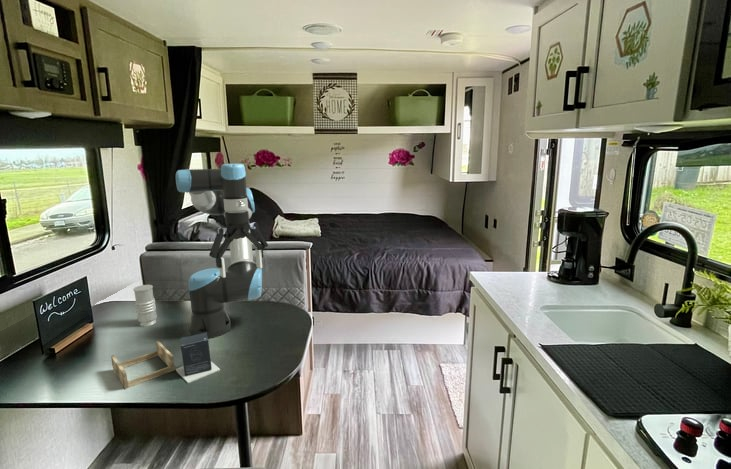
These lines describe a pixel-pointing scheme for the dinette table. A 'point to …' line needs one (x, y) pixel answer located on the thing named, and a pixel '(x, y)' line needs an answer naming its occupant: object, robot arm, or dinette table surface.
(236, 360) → the dinette table surface
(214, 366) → the mat
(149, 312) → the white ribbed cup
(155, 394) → the dinette table surface
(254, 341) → the dinette table surface
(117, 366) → the frame
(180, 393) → the dinette table surface
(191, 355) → the box
